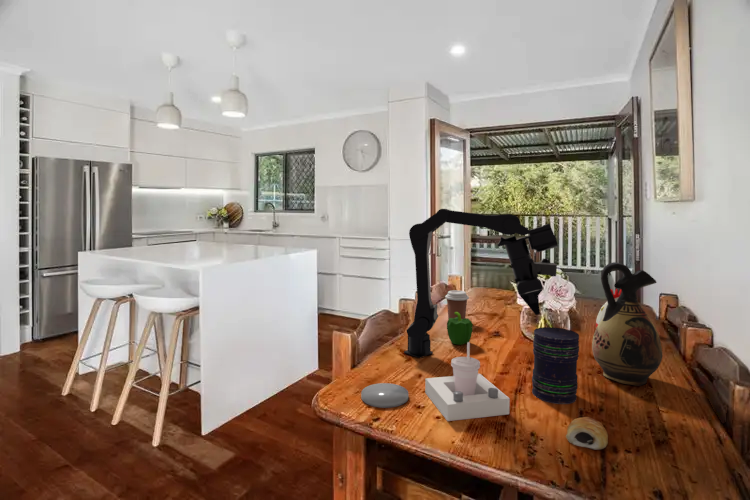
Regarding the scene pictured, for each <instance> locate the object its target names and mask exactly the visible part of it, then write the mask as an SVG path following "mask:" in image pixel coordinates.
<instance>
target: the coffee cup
mask: <svg viewBox="0 0 750 500" xmlns="http://www.w3.org/2000/svg"><path fill="white" fill-rule="evenodd" d="M444 298H445V299H446V304H447V306H446V307H447V318H448V319H447V321H448V320H449V318H456V317H458V316H457V315H455V314H454V313H455V312H458V313H460V315H461V319H465V318H466V315H467V305H468V300H469V299H470V297H469V295H468V294H467V292H466V291H465V290H459V289H458V290H455V289H453V290H449V291H447V294H446V295H445V296H444Z"/></svg>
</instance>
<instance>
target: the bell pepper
mask: <svg viewBox="0 0 750 500" xmlns="http://www.w3.org/2000/svg"><path fill="white" fill-rule="evenodd" d="M454 314H455V315H457V316H458V317H456V318H449V320H448V319H447V322H446V330H447V335H448V339H449V341H450V343H452V345H453V344H454V345H464V344H467V342H470V341H471V338H472V334H473V329H474V327H473V325H474V324H473V322H472V321H471V319H469V318H468V317H467V318H466V317H465V319H461V315H460V313H458V312H455V313H454Z"/></svg>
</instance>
